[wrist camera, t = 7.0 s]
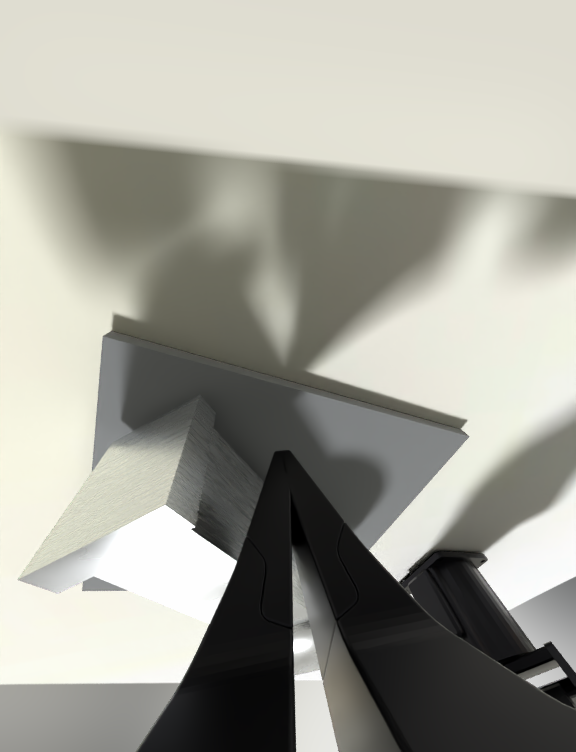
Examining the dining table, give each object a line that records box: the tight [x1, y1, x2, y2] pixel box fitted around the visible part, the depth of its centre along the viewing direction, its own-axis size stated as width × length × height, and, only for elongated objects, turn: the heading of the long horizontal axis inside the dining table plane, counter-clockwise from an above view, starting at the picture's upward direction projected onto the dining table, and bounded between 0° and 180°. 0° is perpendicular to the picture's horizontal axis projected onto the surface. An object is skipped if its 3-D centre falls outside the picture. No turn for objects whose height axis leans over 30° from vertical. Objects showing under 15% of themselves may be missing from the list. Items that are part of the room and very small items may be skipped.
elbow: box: [18, 395, 320, 675], centre depth 11 cm, size 16×7×4 cm, turn 27°
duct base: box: [82, 331, 469, 591], centre depth 13 cm, size 18×17×3 cm
